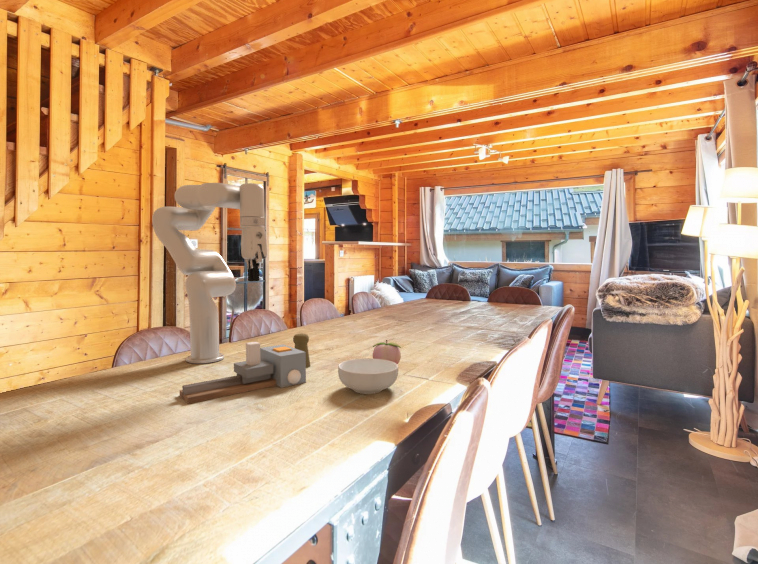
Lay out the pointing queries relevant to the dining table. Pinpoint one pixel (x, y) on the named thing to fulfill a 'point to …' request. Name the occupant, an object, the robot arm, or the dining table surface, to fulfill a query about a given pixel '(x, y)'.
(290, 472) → the dining table surface
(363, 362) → the cereal bowl
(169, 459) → the dining table surface
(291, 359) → the grey button housing
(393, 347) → the decorative fruit
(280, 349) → the button
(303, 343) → the cork
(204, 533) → the dining table surface
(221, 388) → the rail track
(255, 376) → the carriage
